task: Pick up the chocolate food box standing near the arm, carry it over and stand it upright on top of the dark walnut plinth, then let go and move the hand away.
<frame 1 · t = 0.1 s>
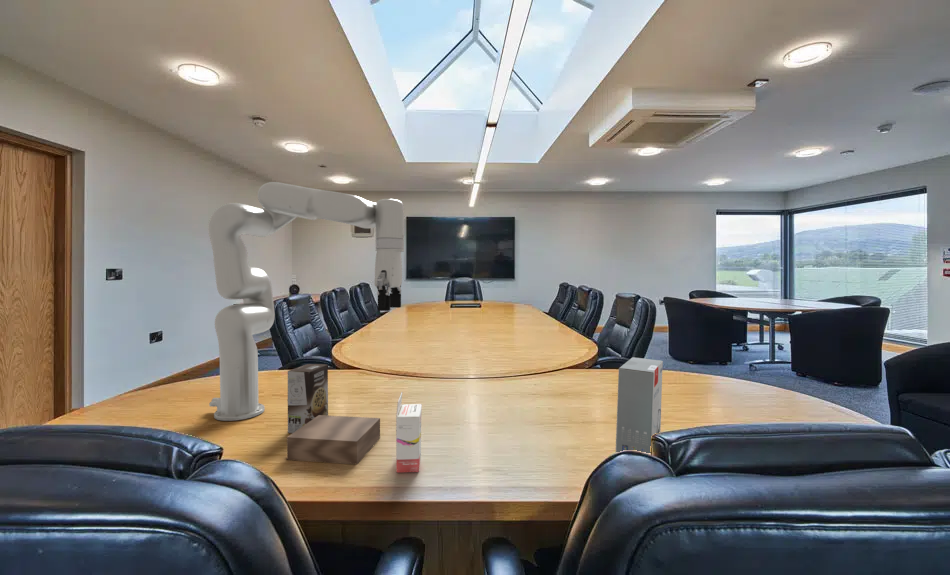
hand: (389, 308, 111), 31 cm above the table, tool pointing down, fingers open, 9 cm apart
hard drive box: (639, 446, 98), on the table
chocolate food box: (308, 428, 108), on the table
walnut plinth: (336, 448, 95), on the table
ink cartridge box: (409, 464, 88), on the table
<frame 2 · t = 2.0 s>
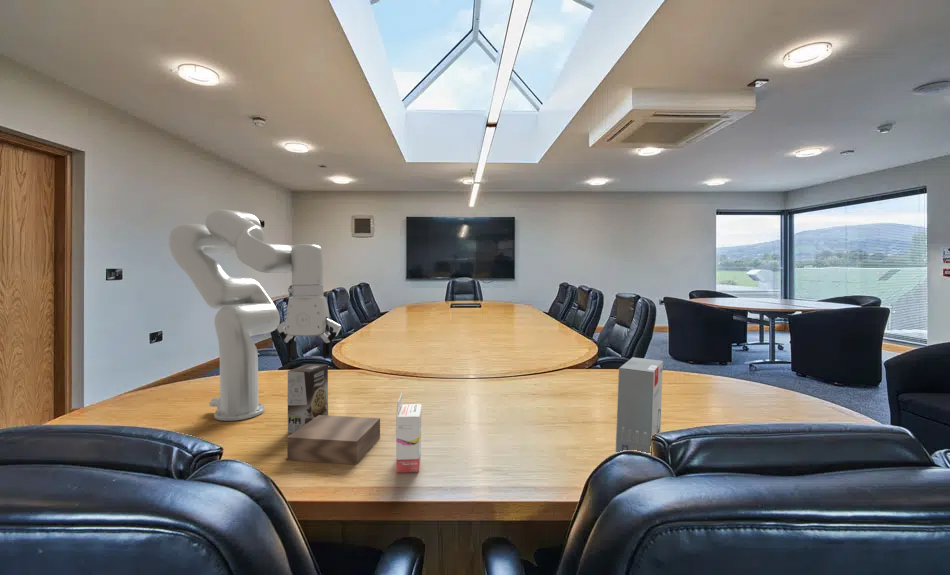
hand: (309, 357, 107), 19 cm above the table, tool pointing down, fingers open, 9 cm apart
nothing on the table moved.
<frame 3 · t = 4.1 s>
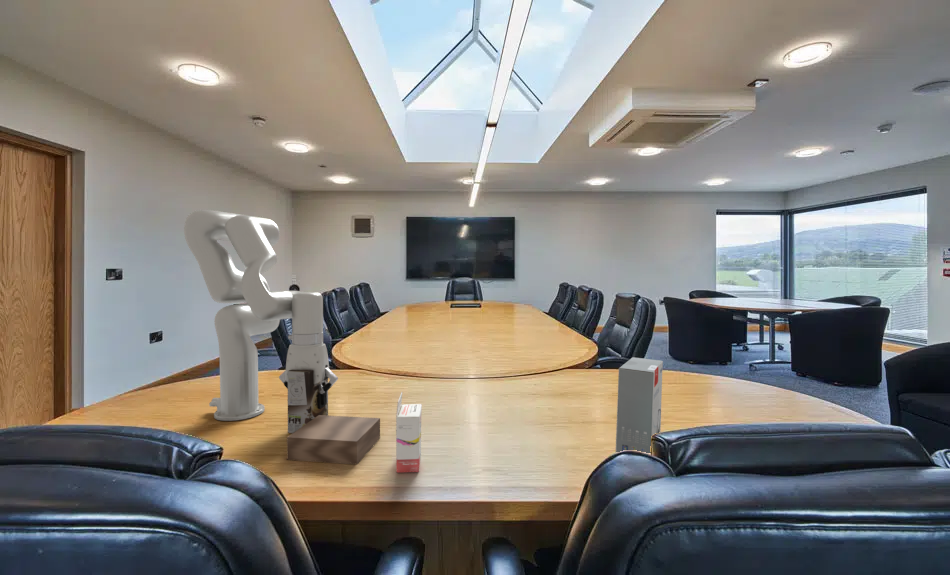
hand: (308, 406, 108), 6 cm above the table, tool pointing down, fingers closed on chocolate food box, 6 cm apart
chocolate food box: (308, 428, 108), on the table, touching gripper
everything else where it was.
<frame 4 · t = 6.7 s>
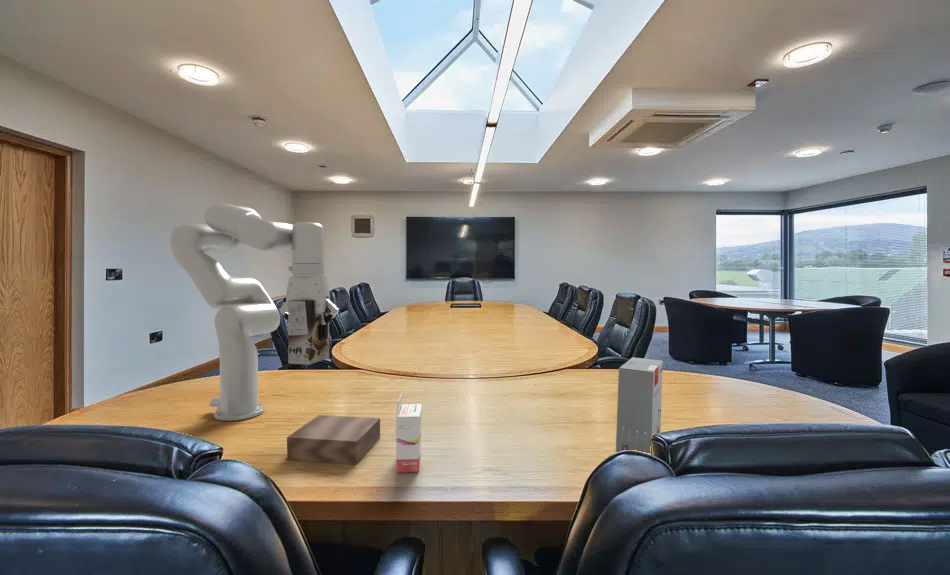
hand: (309, 338, 106), 24 cm above the table, tool pointing down, fingers closed on chocolate food box, 6 cm apart
chocolate food box: (309, 361, 107), point 18 cm above the table, touching gripper
everything else where it was.
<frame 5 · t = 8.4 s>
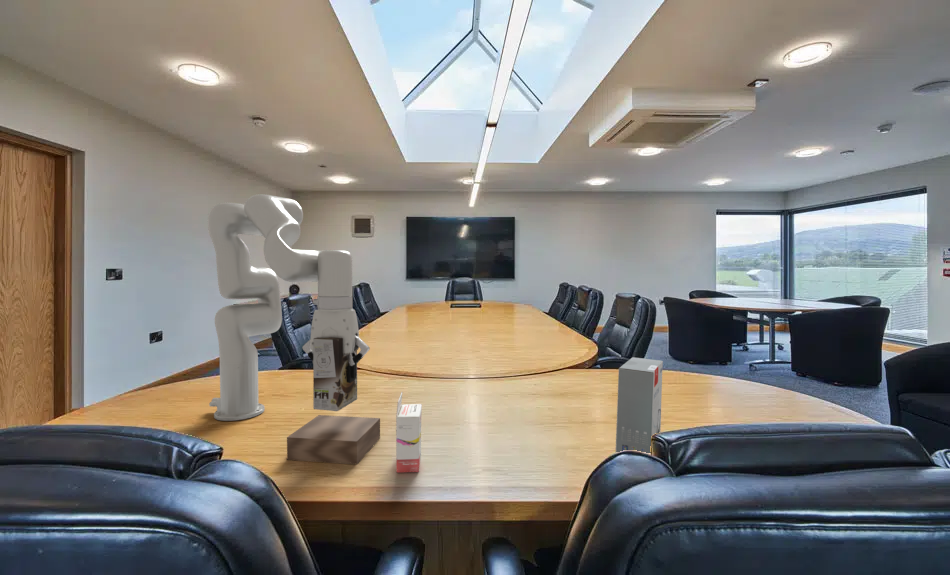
hand: (336, 380, 95), 16 cm above the table, tool pointing down, fingers closed on chocolate food box, 6 cm apart
chocolate food box: (336, 405, 95), point 10 cm above the table, touching gripper
everything else where it was.
when the fingers open (12 cm above the table, at t = 9.8 s): chocolate food box drops 1 cm, resting on walnut plinth.
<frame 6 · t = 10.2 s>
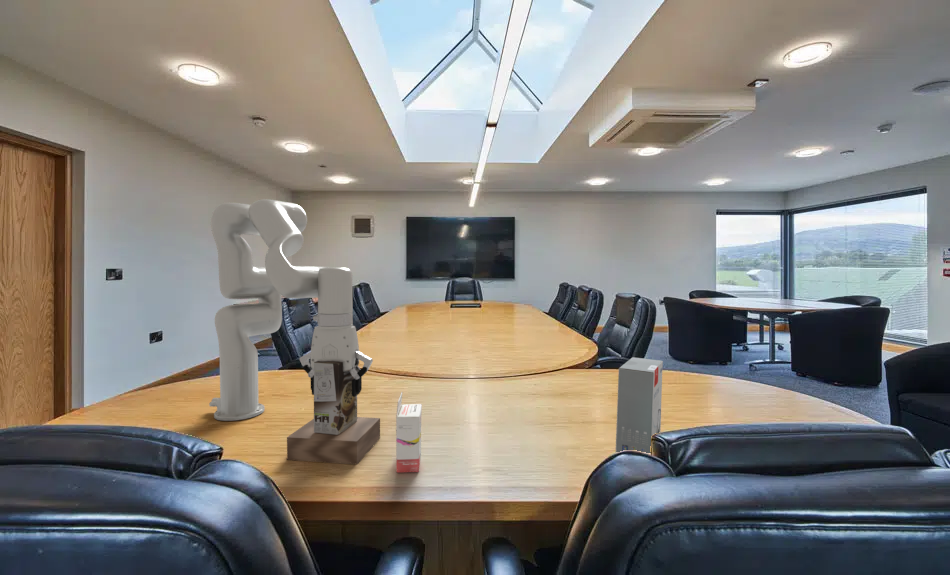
hand: (336, 394, 95), 13 cm above the table, tool pointing down, fingers open, 9 cm apart
chocolate food box: (336, 427, 95), point 5 cm above the table, touching walnut plinth
everything else where it was.
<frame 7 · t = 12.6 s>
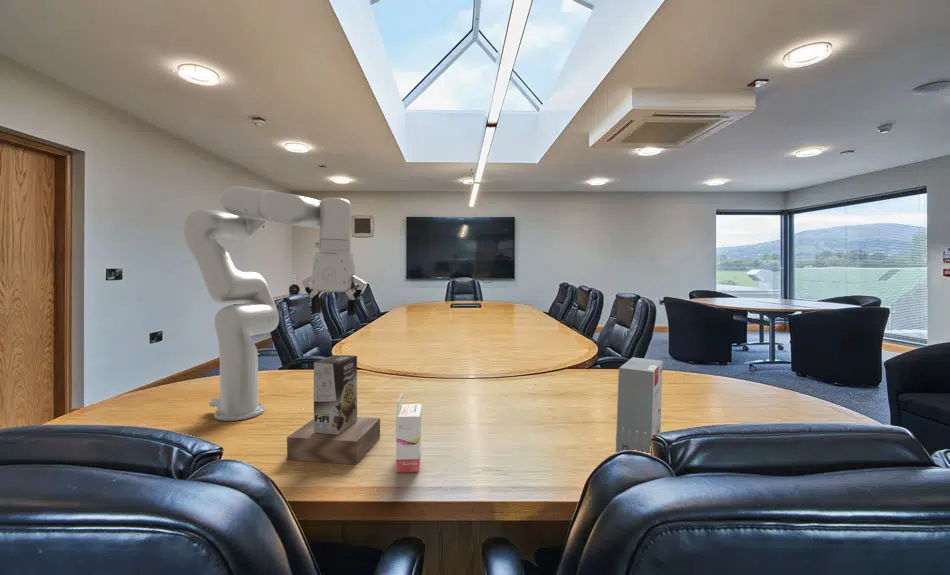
hand: (333, 314, 105), 30 cm above the table, tool pointing down, fingers open, 9 cm apart
nothing on the table moved.
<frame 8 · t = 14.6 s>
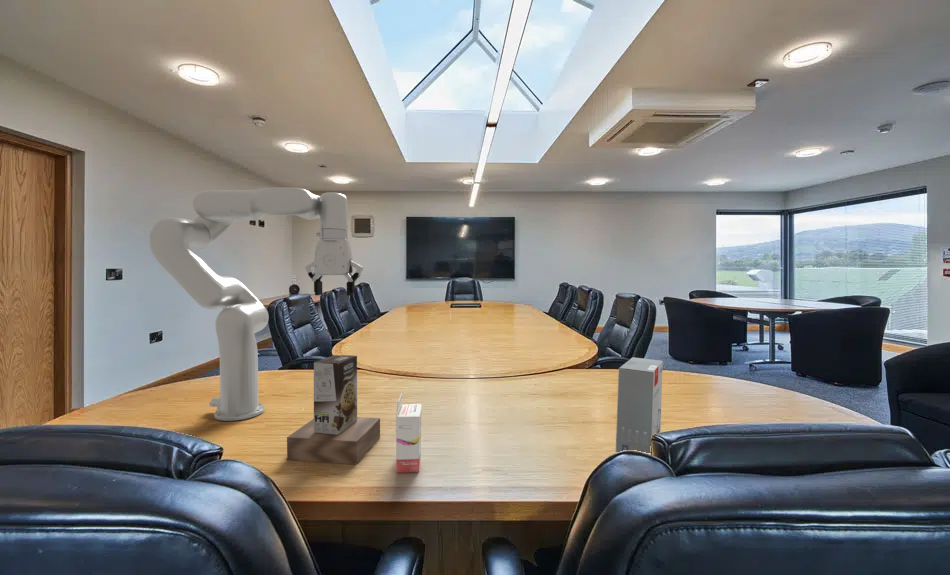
hand: (334, 295, 119), 34 cm above the table, tool pointing down, fingers open, 9 cm apart
nothing on the table moved.
at the end: chocolate food box inside the target area on the walnut plinth (0.1 cm from its centre), point 4.8 cm above the walnut plinth's base; chocolate food box tilted 0°; the gripper is holding nothing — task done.
